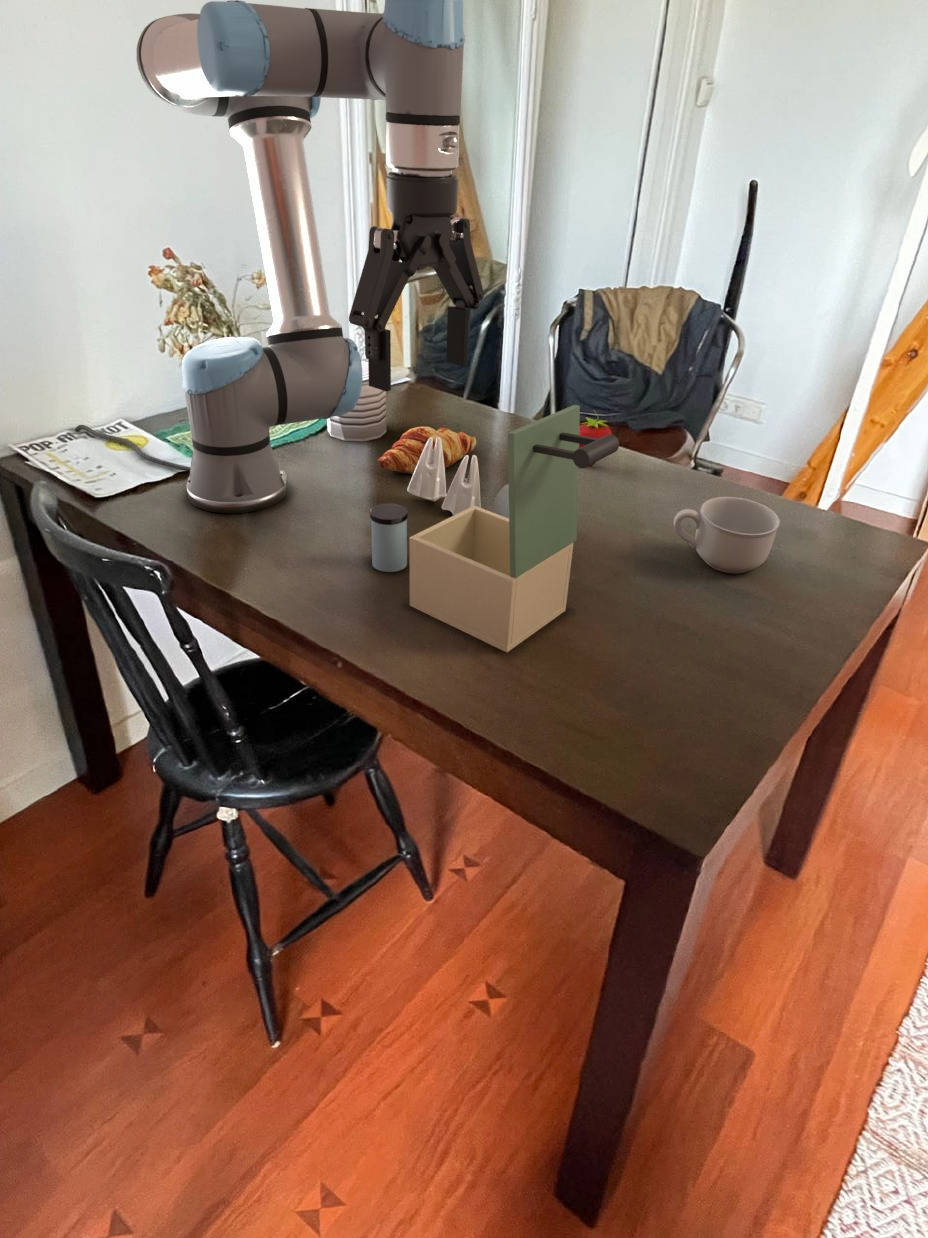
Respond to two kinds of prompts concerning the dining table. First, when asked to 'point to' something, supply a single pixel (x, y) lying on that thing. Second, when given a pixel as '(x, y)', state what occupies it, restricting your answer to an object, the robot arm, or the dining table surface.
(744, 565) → the teacup
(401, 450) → the croissant
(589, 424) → the strawberry
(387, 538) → the coffee tin
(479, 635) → the tan storage tray
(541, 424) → the lid
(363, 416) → the can
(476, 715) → the dining table surface
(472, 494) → the shaker set
